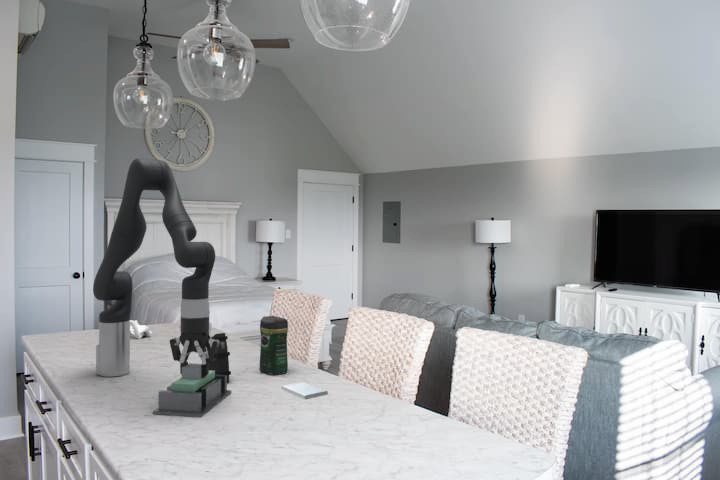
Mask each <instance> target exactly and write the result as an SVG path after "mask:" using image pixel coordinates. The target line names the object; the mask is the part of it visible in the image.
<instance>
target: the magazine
mask: <svg viewBox="0 0 720 480" xmlns="http://www.w3.org/2000/svg"><path fill="white" fill-rule="evenodd" d="M210 338H211V339H214V340H220V345H219V349H218V353H217V357H216V360H214V361H213V362H211V363H209V370H211V371H215V374H218V375H227V384H229V383H230V376H231V375H232V371H231V370H230V361H229V356H231V353H230V351H228V349H229V348H228V342H227V340H228V338H229V337H228V335H226V333H225V332H220V333H215V334H214V335H213V336H211V337H210ZM206 347H207V350H208V356H209V355H210V351H211V347H210V343H208V345H207V346H206Z"/></svg>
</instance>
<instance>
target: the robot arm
mask: <svg viewBox="0 0 720 480" xmlns="http://www.w3.org/2000/svg"><path fill="white" fill-rule="evenodd" d="M126 175H127V176H126V180H125V184H124V190H123V194H122V199H121V203H120V206H119V209H118V211H117V216H116V218H115V221H114V223H113V228H112V230H111V234H110V238H109V242H108V244H107V248H106V251H105V254H104V256H103V259H102V261H101V262H100V266H99V268H98V270H97V273H96V275H95V278H94V280H93V285H92V286H93V288H92V291H93V295H94V298H95V299H96V300H98V301H103V302H104V301H106V302H107V301H114V304H112V306H110V307H108V308H106V309H105V310H102V311H101V312H99V315H98V344H97V345H96V346H95V358H96V359H95V372H96V373H95V375H96V376H97V375H98V376H100V377H108V378H111V377H120V376H121V377H122V376H125V375H128V374H129V373H130V372H131V370H130V369H131V353H130V352H131V336H130V320H131V312H132V305H133V304H132V300H133V287H134V286H133V278H132V276H131V274H130V273H129V271H124V270H123V271H121V270H119V268H120V267H121V266H122V265H123V264H125V262H126V261H127V260H129V258H131V257H132V256H133V255H134V254H136V252H137V251H138V250H139V249H140V247H141V246H142V244H143V240H144V238H145V235H146V232H147V221H146V219H145V216H144V214H143V212H142V207H141V205H140V201H141V197H142V193H143V192H144V191H159V192H160V193H161V194H162V196H163V197H164V204H163V208H162V213H161V216H162V223H163V226H164V227H165V228H166V230H167V232H168V234H169V236H170V238H171V241H172V247H173V254H174V259H175V261H176V262H177V264H178V265H179V266H180V267H181V268H184V269H192V268H195V270H194V271H193V273H192V274H191V275H188V276H186V277H183V279H182V281H181V301H180V302H181V304H180V324H181V332H180V336H179V337H174V338H171V339H169V345H170V349H171V354H172V358H173V361H174V362H175V361H177V362H179V366H180V367H179V369H180V370H179V371H180V375H182V367H184V366H186V365H188V364H189V361H188V360H189V356H190V355H191V353H197V355H198V357H199V358H200V362H201V364H202V365H201V367H202V374H201V377H202V378H205V377H206V376H207V375H208V373H209V363H211V362H213V361H214V360H216V357H217V353H218V349H219V345H220V340H214V339H211V338H212V337H211V335H210V336H209V322H210V313H211V312H210V311H211V310H210V302H209V294H210V293H209V291H210V290H209V283H210V280H211V276H212V272H213V268H214V266H215V263H216V262H215V261H216V250H215V248H214V246H213V245H212V244H211V243H210V242H208V241H193V240H194V239H195V238H196V237H197V235H198V233H197V232H198V231H197V229H196V227H195V224H194V223H193V220H192V218H191V217H190V215H189V214H188V211H187V210H186V208H185V205H184V203H183V200H182V198H181V195H180V192H179V189H178V185H177V183H176V180H175V177H174V173H173V171H172V169H171V167H170V166H169V164H168V163H167V162H166V161H165V160H162V159H154V158H143V157H142V158H141V157H139V158H134V159H133V160H132V161H131V163H130V165H129V167H128V170H127V174H126ZM118 270H119V271H118ZM208 343H210V347H211V351H210V355H209V356H208V350H207V347H206V346H207V345H208ZM180 344H181V345H182V347H183V348H182V351H181V349H180Z"/></svg>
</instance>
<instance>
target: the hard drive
mask: <svg viewBox="0 0 720 480" xmlns="http://www.w3.org/2000/svg"><path fill="white" fill-rule="evenodd" d="M280 389H281V390H283V391H284V392H287V393H288V394H291V395H294V396H296V397H298V398H301V399H302V400H308V399H312V398H317V397H321V396H326V395H329V391H327V390H325V389H324V388H320V387H318V386H315V385H313V384H310V383H308V382H305V381H299V382H295V383H294V382H293V383H289V384H285V385H284V384H283V385H281V387H280Z"/></svg>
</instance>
